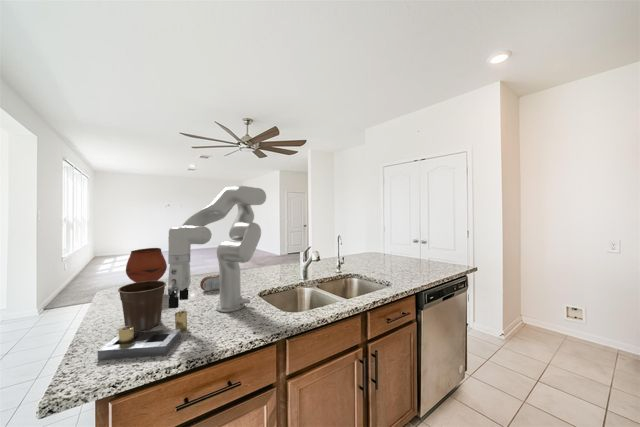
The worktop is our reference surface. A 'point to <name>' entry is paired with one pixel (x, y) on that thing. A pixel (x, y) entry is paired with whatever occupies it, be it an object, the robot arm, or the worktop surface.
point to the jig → (139, 344)
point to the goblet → (146, 265)
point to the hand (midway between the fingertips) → (178, 303)
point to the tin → (210, 283)
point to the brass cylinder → (181, 320)
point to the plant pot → (142, 304)
